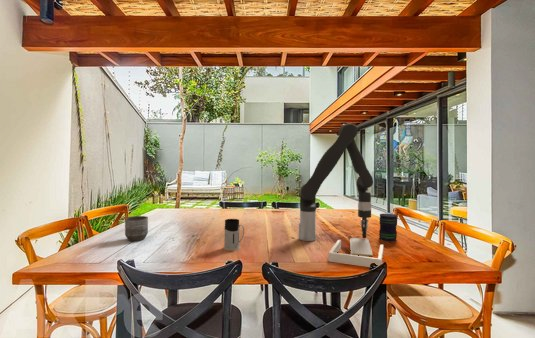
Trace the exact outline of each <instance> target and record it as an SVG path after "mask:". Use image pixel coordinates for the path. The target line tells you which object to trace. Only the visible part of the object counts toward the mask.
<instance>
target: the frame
mask: <svg viewBox="0 0 535 338" xmlns="http://www.w3.org/2000/svg"><path fill="white" fill-rule="evenodd" d="M341 247H342V239H337V241H336V242H335V243H334V244H333V246H332V247H331V249H330V250H329V251H328V260H327V261H328V262H332V263H337V264H346V265H353V266H359V267H367V268H371V267H370V264H371V263H375V264H376V265H379V264H381V263H382V264H383V259H382V258H383V257H384V244H380V245H379V250H378V256H377V257H369V256H358V255H351V254H348V253H341V252H339V251H340V250H341ZM339 249H340V250H339ZM337 252H338V253H337Z"/></svg>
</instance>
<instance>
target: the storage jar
mask: <svg viewBox="0 0 535 338" xmlns="http://www.w3.org/2000/svg"><path fill="white" fill-rule="evenodd" d="M397 225H398V215H397V214H393V213H379V230H378V235H379V238H378V239H379V240H380V241H383V242H388V243H391V242H392V243H394V242H397V237H398V231H397Z"/></svg>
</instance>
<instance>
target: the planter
mask: <svg viewBox="0 0 535 338" xmlns="http://www.w3.org/2000/svg"><path fill="white" fill-rule="evenodd" d="M124 221H125V222H124V236H125V237H126V238H127V240H128V241H129V242H141V241H144V240H145V239H146V237H147V235H148V232H149V216H146V215H136V216H135V215H134V216H128V217H126V218H124Z"/></svg>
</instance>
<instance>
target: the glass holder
mask: <svg viewBox="0 0 535 338" xmlns="http://www.w3.org/2000/svg"><path fill="white" fill-rule="evenodd" d="M240 227H242V236H241V238H240ZM244 235H245V227H244V225H243V224H240V219H239V218H227V219H225V220H224V241H223V242H224V245H223V250H224V251H228V252H229V251H230V252H233V251H238V250H240V249H241V246H240V243H241V242H242V241H243V238H244Z"/></svg>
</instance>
